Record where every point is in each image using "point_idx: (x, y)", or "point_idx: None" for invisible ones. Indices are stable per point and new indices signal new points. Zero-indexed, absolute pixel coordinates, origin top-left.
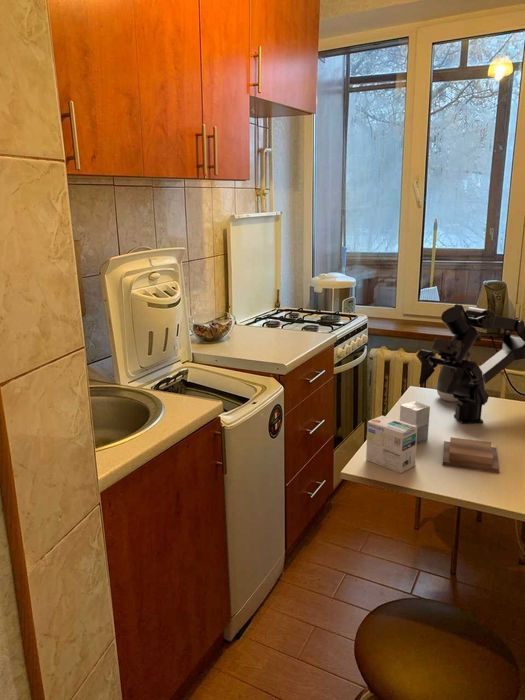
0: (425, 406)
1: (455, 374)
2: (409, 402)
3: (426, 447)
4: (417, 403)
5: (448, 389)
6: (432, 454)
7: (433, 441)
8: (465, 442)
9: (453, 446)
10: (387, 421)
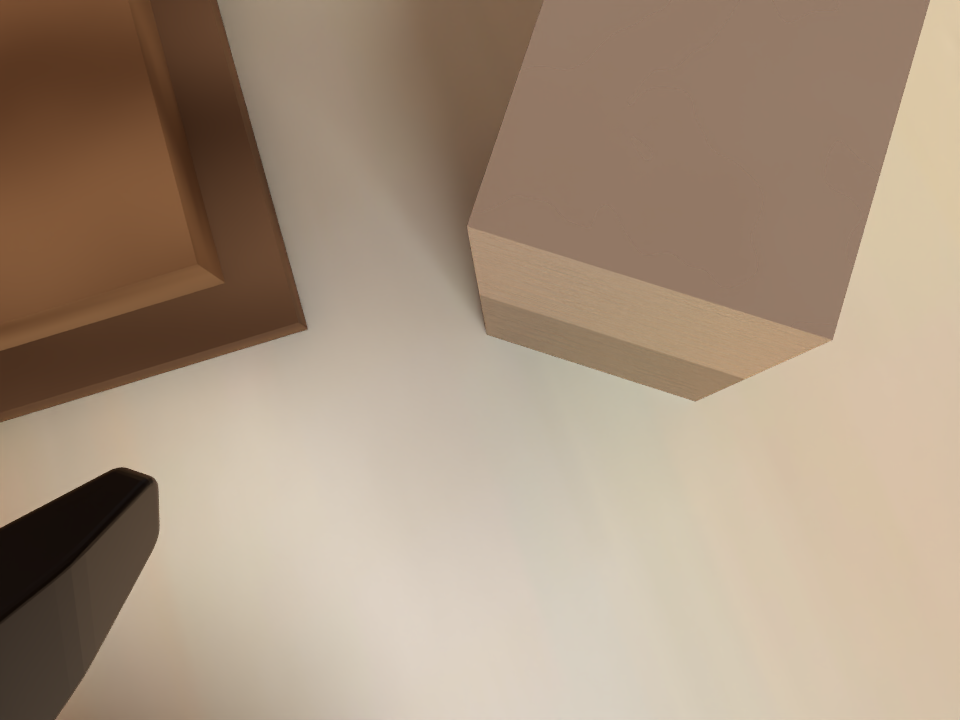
0: (533, 180)
1: None
2: (861, 214)
3: (434, 162)
4: (715, 244)
5: (81, 498)
6: (330, 45)
7: (426, 347)
8: (16, 213)
9: (100, 37)
10: None
